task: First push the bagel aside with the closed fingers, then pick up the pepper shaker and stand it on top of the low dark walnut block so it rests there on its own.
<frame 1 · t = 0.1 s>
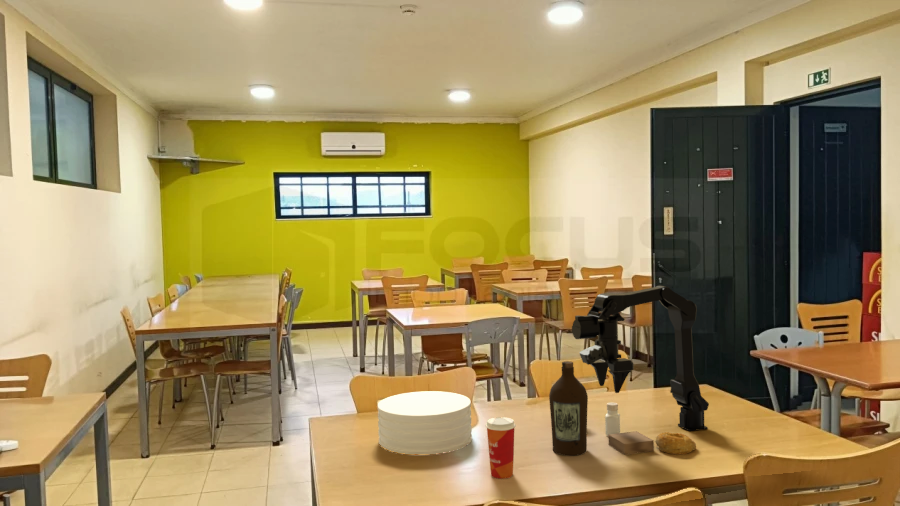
hand: (609, 389, 198), 15 cm above the table, tool pointing down, fingers open, 9 cm apart
bagel: (675, 450, 188), on the table
pepper shaker: (613, 435, 202), on the table
walnut block: (630, 447, 190), on the table
paper cup: (502, 475, 172), on the table
plate stack: (425, 440, 203), on the table
olive oil: (569, 451, 189), on the table
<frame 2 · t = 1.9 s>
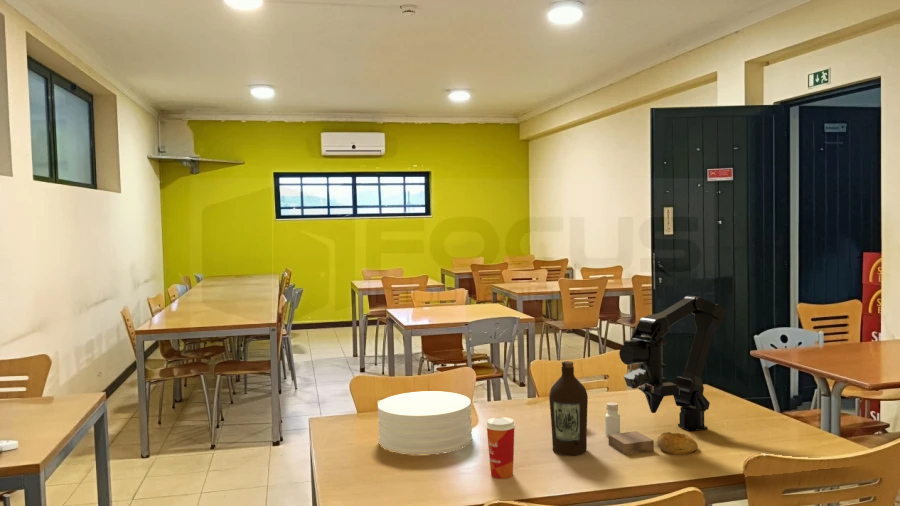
hand: (653, 412, 198), 7 cm above the table, tool pointing down, fingers closed
nothing on the table moved.
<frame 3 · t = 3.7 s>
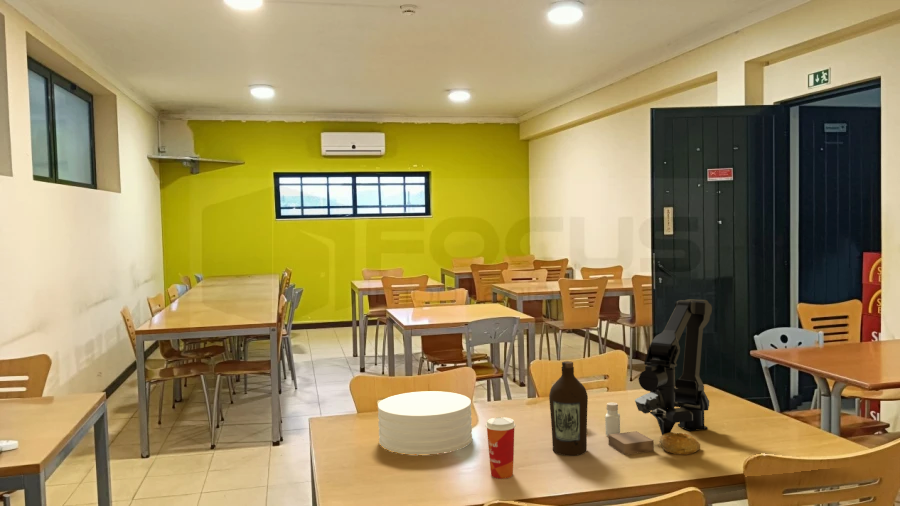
hand: (665, 438, 192), 2 cm above the table, tool pointing down, fingers closed
bagel: (679, 450, 187), on the table, touching gripper
everything else where it was.
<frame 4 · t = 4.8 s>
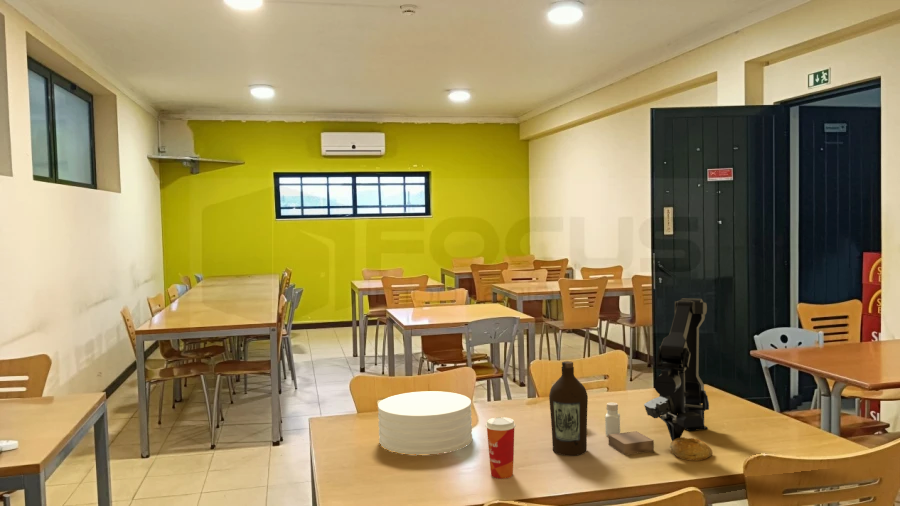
hand: (675, 443, 188), 2 cm above the table, tool pointing down, fingers closed
bagel: (691, 456, 183), on the table, touching gripper
everything else where it was.
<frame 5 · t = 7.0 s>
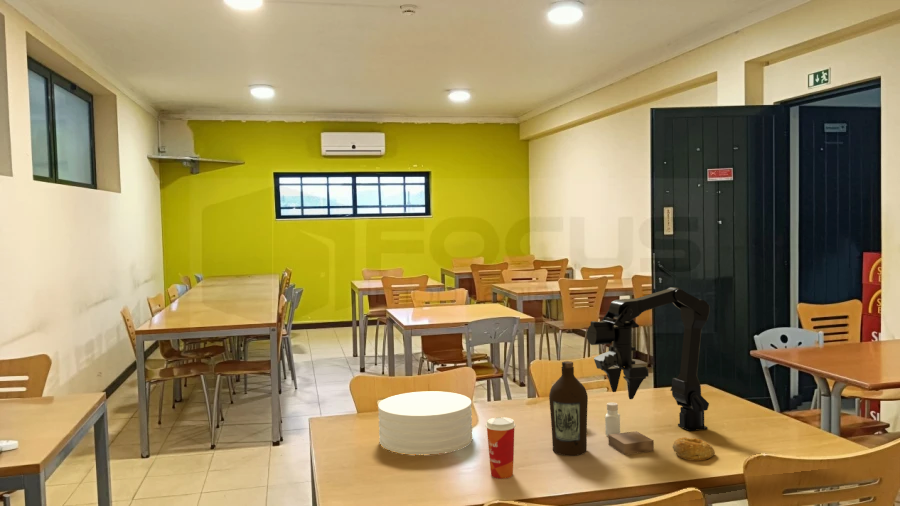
hand: (622, 395, 199), 12 cm above the table, tool pointing down, fingers open, 9 cm apart
bagel: (693, 456, 183), on the table
everything else where it was.
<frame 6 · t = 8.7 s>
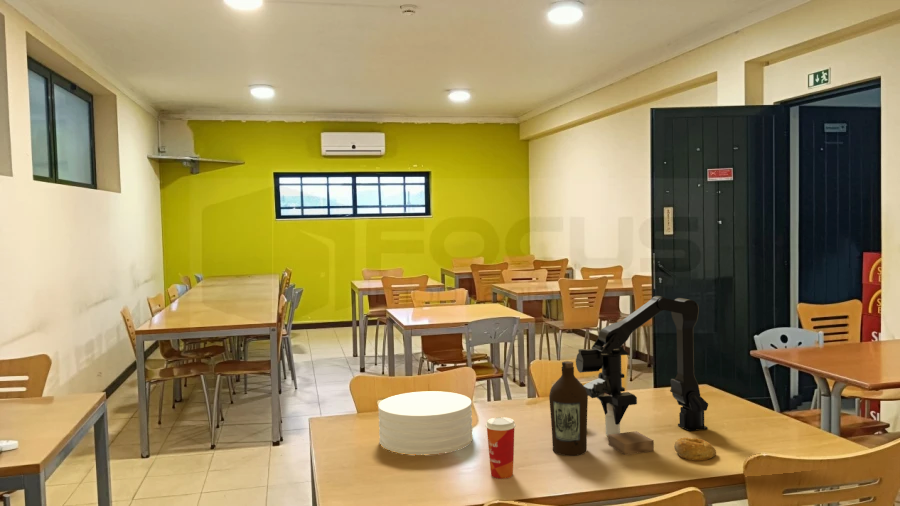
hand: (612, 421, 201), 4 cm above the table, tool pointing down, fingers closed on pepper shaker, 5 cm apart
pepper shaker: (613, 435, 202), on the table, touching gripper
everything else where it was.
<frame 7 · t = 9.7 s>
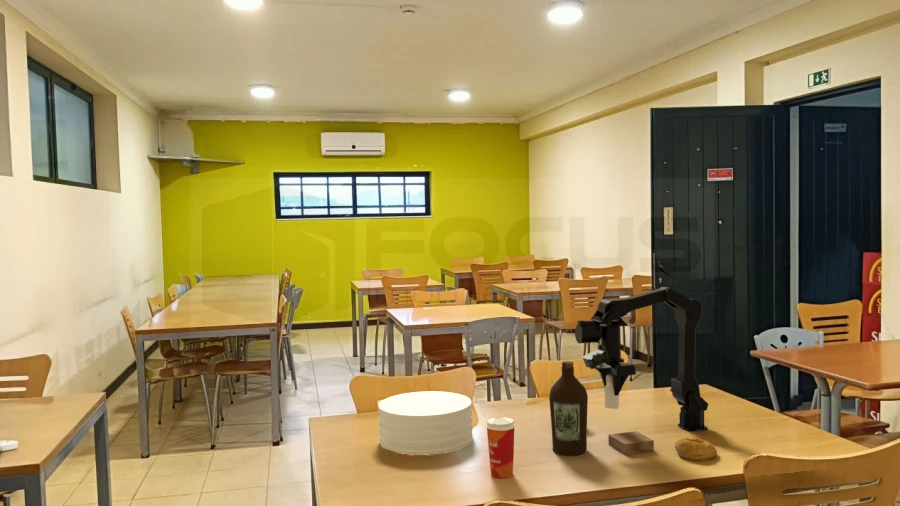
hand: (611, 393, 201), 13 cm above the table, tool pointing down, fingers closed on pepper shaker, 5 cm apart
pepper shaker: (612, 407, 201), point 8 cm above the table, touching gripper
everything else where it was.
when the fingers open (8 cm above the table, at t = 12.1 s): pepper shaker stays where it is, resting on walnut block.
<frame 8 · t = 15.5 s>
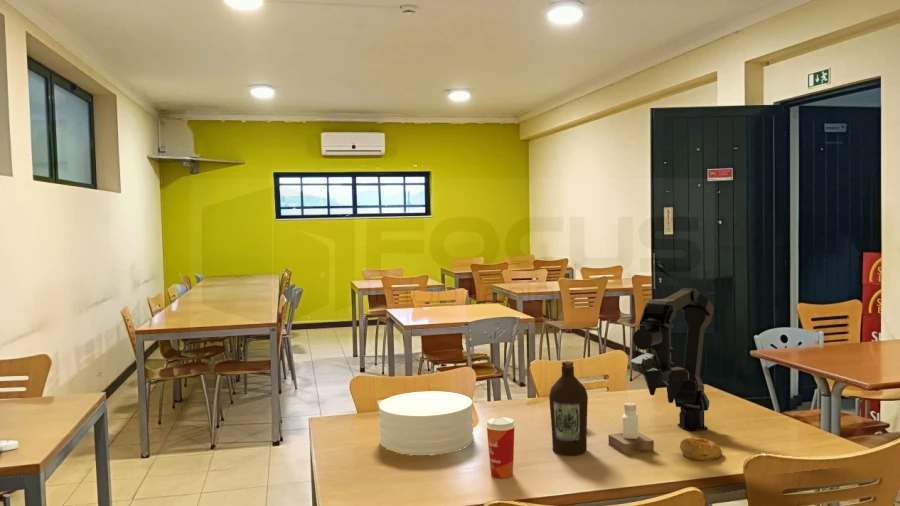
hand: (661, 398, 192), 13 cm above the table, tool pointing down, fingers open, 9 cm apart
bagel: (700, 456, 182), on the table
pepper shaker: (630, 438, 190), point 3 cm above the table, touching walnut block
everything else where it was.
at the end: pepper shaker inside the target area on the walnut block (0.0 cm from its centre), point 2.8 cm above the walnut block's base; pepper shaker tilted 0°; bagel inside the target area (4.8 cm from its centre), on the table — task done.
